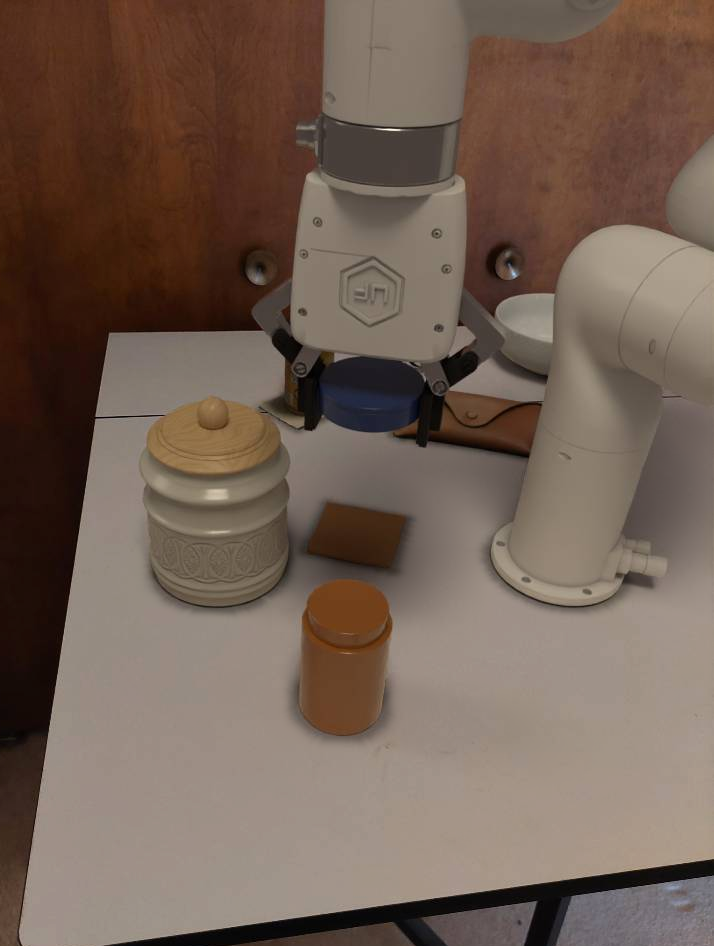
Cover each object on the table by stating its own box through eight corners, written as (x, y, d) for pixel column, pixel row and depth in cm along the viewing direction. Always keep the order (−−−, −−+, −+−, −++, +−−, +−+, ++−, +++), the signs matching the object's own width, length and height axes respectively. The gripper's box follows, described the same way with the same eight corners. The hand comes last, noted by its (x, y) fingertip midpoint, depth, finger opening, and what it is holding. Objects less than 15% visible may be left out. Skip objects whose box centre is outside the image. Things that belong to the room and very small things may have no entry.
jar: (160, 621, 70) (140, 449, 59) (144, 532, 80) (124, 371, 69) (303, 597, 73) (309, 429, 62) (270, 515, 83) (271, 357, 72)
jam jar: (379, 672, 66) (391, 576, 60) (384, 736, 61) (398, 639, 55) (299, 670, 66) (303, 573, 60) (298, 734, 61) (301, 637, 55)
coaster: (405, 519, 83) (406, 516, 83) (390, 569, 77) (390, 566, 76) (327, 504, 85) (327, 501, 84) (306, 552, 78) (306, 549, 78)
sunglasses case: (391, 435, 95) (400, 379, 94) (395, 436, 102) (404, 384, 101) (545, 458, 92) (556, 400, 91) (539, 458, 99) (549, 404, 98)
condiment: (346, 407, 101) (352, 317, 94) (297, 429, 97) (299, 336, 89) (306, 386, 105) (309, 298, 98) (257, 407, 101) (256, 316, 93)
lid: (318, 433, 51) (319, 409, 50) (315, 378, 57) (316, 355, 56) (429, 433, 52) (432, 408, 50) (415, 378, 57) (418, 355, 56)
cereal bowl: (466, 344, 117) (474, 297, 112) (566, 333, 121) (577, 287, 117) (525, 399, 104) (536, 348, 100) (633, 384, 108) (649, 335, 104)
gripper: (217, 154, 43) (231, 439, 54) (548, 182, 40) (491, 478, 51) (258, 125, 49) (263, 387, 60) (550, 147, 45) (498, 420, 57)
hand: (368, 427), depth 55 cm, fingers closed on lid, 7 cm apart
